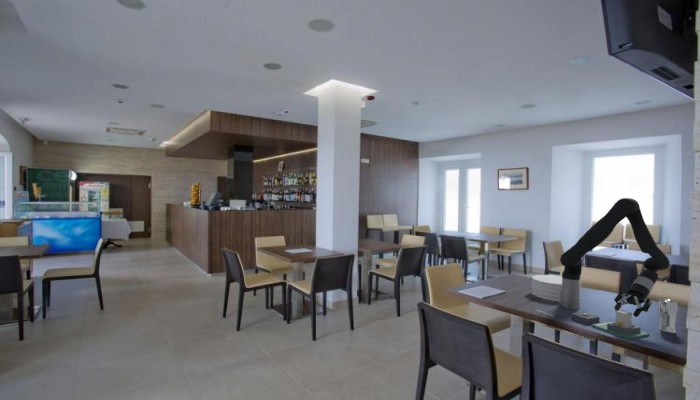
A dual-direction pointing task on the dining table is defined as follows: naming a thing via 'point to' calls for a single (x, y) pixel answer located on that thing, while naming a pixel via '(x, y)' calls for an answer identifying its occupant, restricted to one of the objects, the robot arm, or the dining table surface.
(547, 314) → the butter knife
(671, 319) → the beer glass
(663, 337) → the dining table surface
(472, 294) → the dining table surface
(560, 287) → the plate stack
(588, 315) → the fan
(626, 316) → the plug
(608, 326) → the board
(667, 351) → the dining table surface
